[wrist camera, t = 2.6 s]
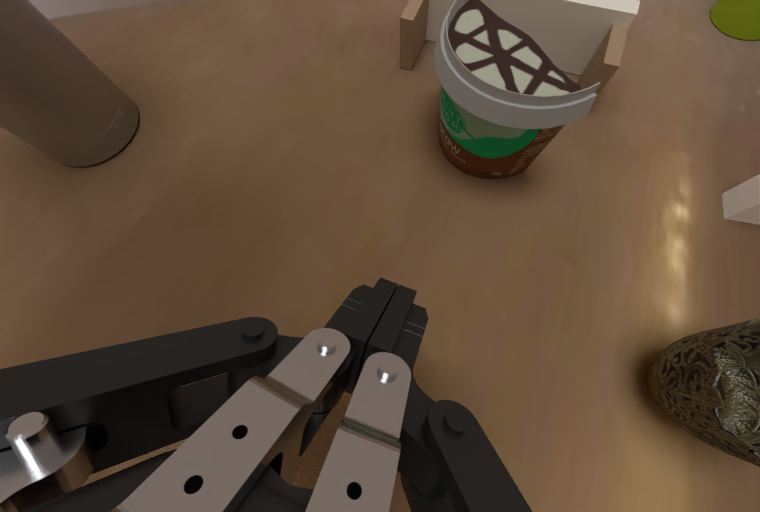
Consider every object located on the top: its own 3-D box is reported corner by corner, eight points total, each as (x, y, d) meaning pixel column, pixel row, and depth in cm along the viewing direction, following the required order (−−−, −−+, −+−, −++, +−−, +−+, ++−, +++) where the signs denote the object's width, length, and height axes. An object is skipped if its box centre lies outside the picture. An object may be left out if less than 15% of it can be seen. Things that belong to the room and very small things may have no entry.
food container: (399, 121, 31) (400, 13, 21) (451, 92, 31) (474, -25, 22) (479, 217, 27) (523, 139, 17) (536, 181, 28) (607, 88, 18)
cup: (594, 344, 23) (689, 335, 16) (690, 320, 23) (830, 300, 16) (644, 458, 21) (786, 514, 13) (751, 431, 21) (951, 471, 13)
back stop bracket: (400, 67, 33) (400, 5, 27) (420, 26, 34) (424, -40, 29) (584, 113, 30) (628, 54, 24) (596, 66, 31) (640, 1, 25)
